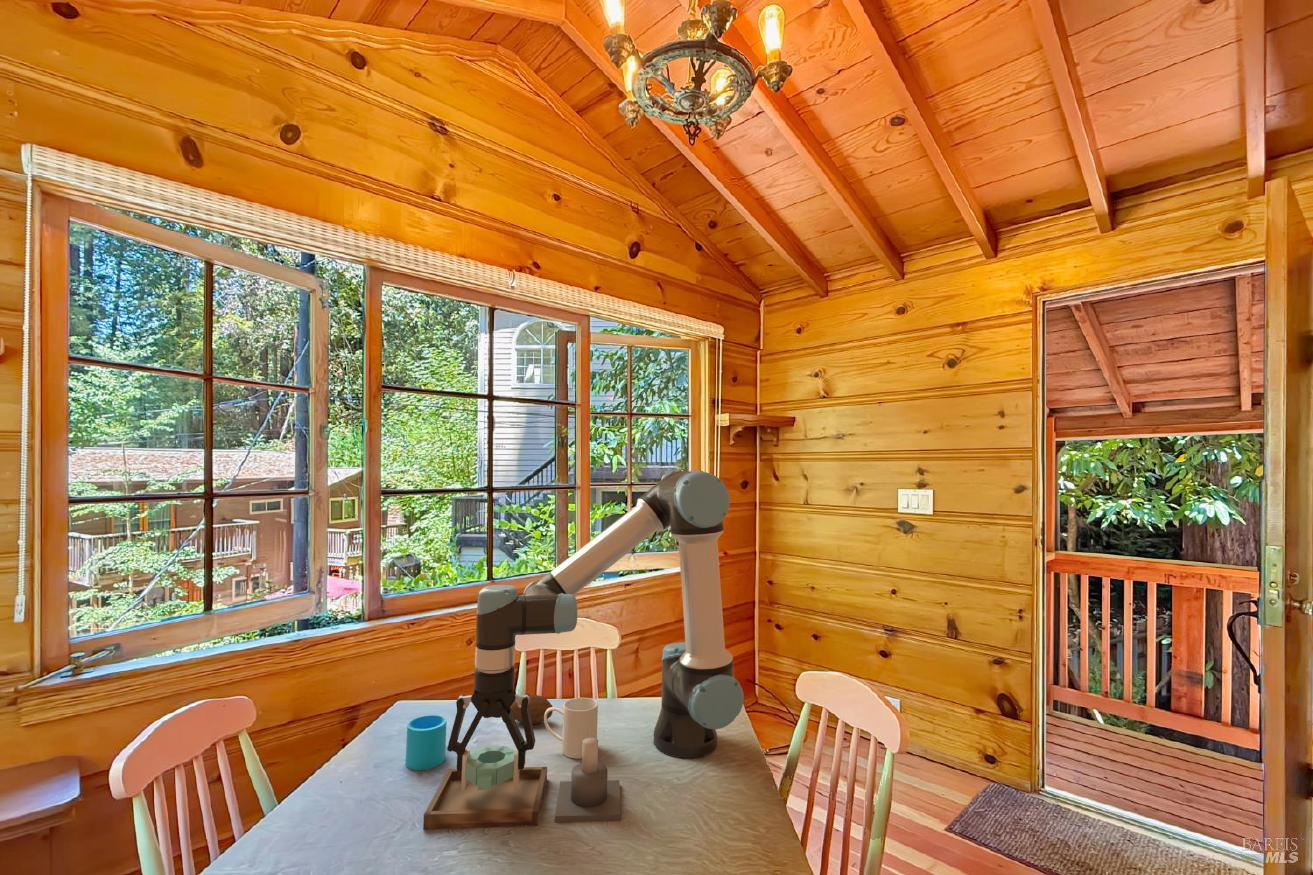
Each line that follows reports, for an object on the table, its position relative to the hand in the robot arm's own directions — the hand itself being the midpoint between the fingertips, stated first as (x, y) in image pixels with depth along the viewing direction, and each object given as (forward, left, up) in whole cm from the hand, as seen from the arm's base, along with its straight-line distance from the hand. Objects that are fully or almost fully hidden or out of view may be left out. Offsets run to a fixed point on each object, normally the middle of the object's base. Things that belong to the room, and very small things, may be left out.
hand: (490, 786), depth 111 cm
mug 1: (+17, -19, -3) cm, 26 cm away
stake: (-19, +1, -3) cm, 19 cm away
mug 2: (-14, -20, -3) cm, 25 cm away
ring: (0, 0, +3) cm, 3 cm away
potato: (-3, -36, -3) cm, 36 cm away
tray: (0, 0, -3) cm, 3 cm away
